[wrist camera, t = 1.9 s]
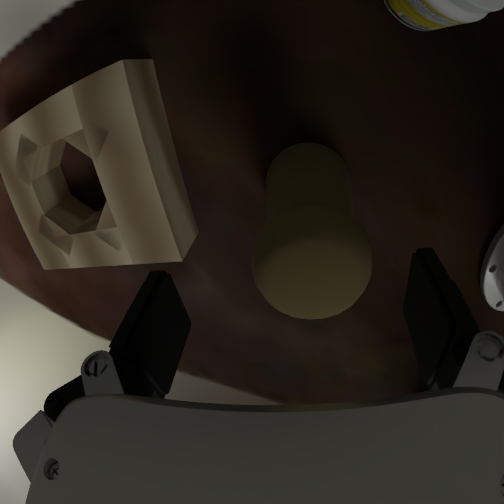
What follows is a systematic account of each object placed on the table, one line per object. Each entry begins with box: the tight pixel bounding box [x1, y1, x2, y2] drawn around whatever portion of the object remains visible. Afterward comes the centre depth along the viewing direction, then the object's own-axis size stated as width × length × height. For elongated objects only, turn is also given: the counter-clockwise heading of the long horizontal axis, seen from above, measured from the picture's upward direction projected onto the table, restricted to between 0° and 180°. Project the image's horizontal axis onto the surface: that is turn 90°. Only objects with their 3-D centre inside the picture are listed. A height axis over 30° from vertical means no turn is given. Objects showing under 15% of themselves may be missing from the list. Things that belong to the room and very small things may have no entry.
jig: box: [0, 59, 199, 270], centre depth 20 cm, size 16×14×4 cm
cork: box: [251, 142, 372, 319], centre depth 16 cm, size 6×6×11 cm
